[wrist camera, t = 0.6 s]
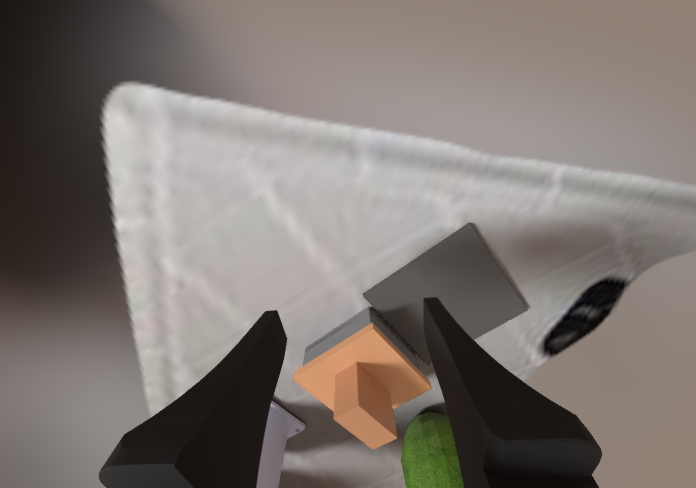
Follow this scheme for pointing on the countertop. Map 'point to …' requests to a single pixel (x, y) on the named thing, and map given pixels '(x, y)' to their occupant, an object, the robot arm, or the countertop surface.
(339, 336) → the box
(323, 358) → the lid
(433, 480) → the avocado
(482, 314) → the mat
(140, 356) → the countertop surface
